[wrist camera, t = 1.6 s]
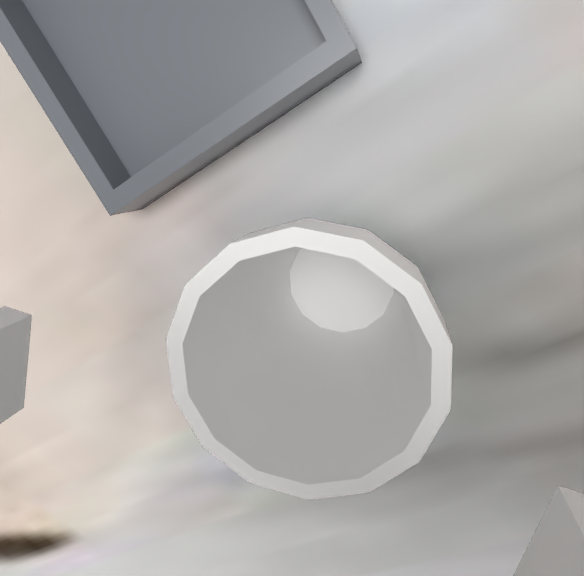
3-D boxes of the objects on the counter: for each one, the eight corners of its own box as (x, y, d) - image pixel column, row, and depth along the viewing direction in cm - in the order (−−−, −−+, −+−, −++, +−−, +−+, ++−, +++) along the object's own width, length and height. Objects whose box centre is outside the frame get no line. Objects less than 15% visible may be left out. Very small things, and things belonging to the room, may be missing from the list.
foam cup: (331, 384, 30) (288, 541, 18) (232, 269, 29) (114, 349, 17) (462, 290, 27) (519, 400, 15) (354, 160, 26) (318, 161, 14)
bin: (361, 62, 25) (357, 47, 22) (141, 209, 29) (110, 215, 26) (208, -226, 23) (177, -290, 20) (-2, -24, 28) (-56, -48, 24)
